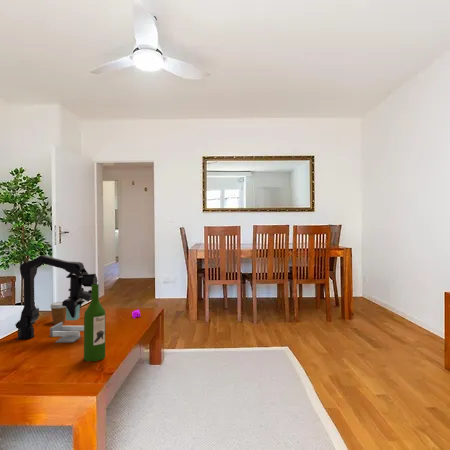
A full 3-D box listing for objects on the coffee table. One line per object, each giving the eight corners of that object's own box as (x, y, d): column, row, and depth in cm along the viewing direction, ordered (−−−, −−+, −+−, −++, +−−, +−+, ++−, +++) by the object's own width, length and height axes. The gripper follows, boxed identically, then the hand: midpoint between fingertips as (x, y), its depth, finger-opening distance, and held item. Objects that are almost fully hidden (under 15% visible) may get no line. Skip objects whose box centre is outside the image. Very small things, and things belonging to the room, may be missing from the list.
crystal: (131, 316, 223) (131, 309, 223) (139, 316, 225) (140, 309, 225) (132, 318, 218) (132, 311, 218) (141, 318, 220) (141, 310, 220)
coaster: (55, 342, 172) (55, 341, 172) (63, 337, 181) (63, 335, 181) (73, 342, 172) (73, 341, 172) (80, 337, 181) (80, 335, 181)
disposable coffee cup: (46, 324, 205) (46, 304, 205) (59, 320, 214) (59, 301, 214) (58, 326, 201) (58, 305, 202) (71, 322, 210) (71, 302, 210)
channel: (50, 336, 182) (50, 328, 182) (60, 330, 193) (60, 322, 193) (78, 336, 182) (78, 328, 182) (87, 330, 193) (87, 322, 193)
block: (65, 320, 177) (66, 306, 177) (69, 317, 182) (70, 304, 182) (75, 320, 177) (76, 306, 177) (79, 317, 182) (79, 304, 182)
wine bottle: (92, 363, 145) (93, 287, 146) (79, 359, 150) (79, 285, 151) (109, 356, 153) (110, 284, 153) (96, 353, 158) (97, 282, 158)
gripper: (84, 289, 171) (83, 321, 171) (97, 283, 189) (96, 312, 189) (62, 289, 170) (61, 320, 170) (77, 283, 189) (76, 311, 189)
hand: (75, 316), depth 180 cm, fingers closed on block, 5 cm apart
